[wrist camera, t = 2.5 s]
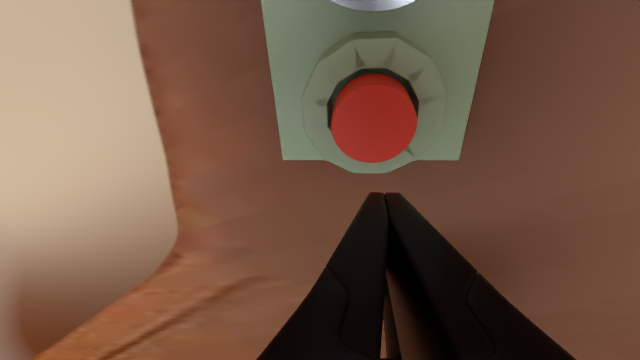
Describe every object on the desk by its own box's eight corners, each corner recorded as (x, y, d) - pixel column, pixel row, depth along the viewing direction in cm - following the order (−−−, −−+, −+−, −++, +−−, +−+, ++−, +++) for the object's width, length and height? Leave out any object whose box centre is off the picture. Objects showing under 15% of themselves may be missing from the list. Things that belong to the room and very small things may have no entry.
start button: (406, 145, 15) (412, 163, 14) (334, 146, 16) (332, 163, 14) (415, 71, 13) (422, 83, 12) (332, 73, 14) (329, 86, 12)
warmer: (451, 146, 19) (468, 178, 16) (287, 147, 20) (275, 177, 17) (532, -256, 10) (603, -347, 7) (242, -217, 11) (203, -282, 8)
